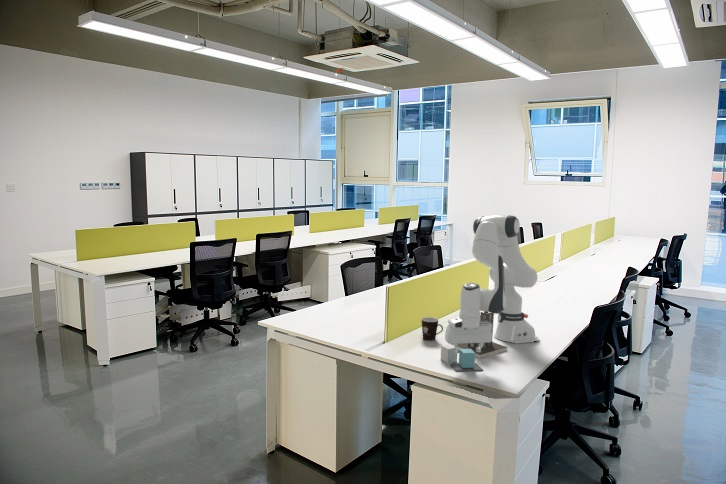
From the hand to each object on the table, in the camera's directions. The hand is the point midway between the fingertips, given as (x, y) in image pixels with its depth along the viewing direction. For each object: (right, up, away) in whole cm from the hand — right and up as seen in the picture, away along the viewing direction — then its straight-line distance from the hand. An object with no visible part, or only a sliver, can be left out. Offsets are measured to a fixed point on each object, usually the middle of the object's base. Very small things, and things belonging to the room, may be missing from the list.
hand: (467, 352), depth 213 cm
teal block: (-1, -6, 0) cm, 6 cm away
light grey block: (-7, -6, +9) cm, 12 cm away
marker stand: (-1, -7, +1) cm, 7 cm away
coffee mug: (-11, -2, +38) cm, 40 cm away
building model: (+11, -5, +26) cm, 28 cm away
